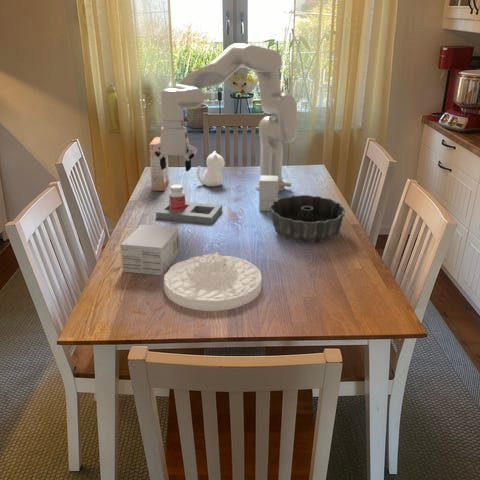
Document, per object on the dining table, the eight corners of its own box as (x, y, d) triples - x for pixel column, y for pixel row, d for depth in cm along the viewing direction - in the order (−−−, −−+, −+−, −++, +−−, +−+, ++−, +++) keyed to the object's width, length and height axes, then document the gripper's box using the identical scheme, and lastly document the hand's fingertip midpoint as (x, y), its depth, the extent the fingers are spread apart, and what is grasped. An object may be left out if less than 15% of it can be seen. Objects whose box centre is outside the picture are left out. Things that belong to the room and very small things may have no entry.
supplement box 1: (163, 276, 157) (161, 247, 154) (122, 272, 160) (119, 244, 156) (179, 252, 173) (178, 226, 169) (141, 249, 175) (139, 223, 171)
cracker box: (165, 191, 229) (162, 144, 221) (151, 191, 229) (148, 144, 221) (169, 181, 242) (167, 136, 234) (156, 181, 242) (154, 136, 234)
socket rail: (222, 211, 208) (222, 205, 207) (211, 223, 195) (211, 217, 194) (169, 206, 212) (169, 200, 211) (156, 218, 200) (155, 212, 199)
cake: (209, 257, 170) (209, 229, 166) (280, 283, 154) (281, 254, 150) (143, 289, 150) (141, 259, 147) (217, 324, 134) (216, 291, 130)
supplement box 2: (277, 205, 214) (278, 175, 209) (277, 211, 207) (278, 181, 202) (259, 204, 215) (260, 174, 210) (258, 211, 208) (259, 180, 203)
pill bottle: (188, 214, 204) (187, 187, 200) (174, 217, 201) (173, 189, 197) (181, 209, 209) (179, 182, 205) (167, 212, 206) (165, 185, 201)
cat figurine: (225, 187, 235) (225, 154, 229) (197, 188, 233) (196, 155, 227) (223, 181, 243) (223, 149, 237) (196, 182, 242) (195, 150, 236)
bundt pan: (347, 250, 175) (350, 222, 171) (268, 248, 176) (269, 220, 172) (339, 221, 199) (341, 196, 195) (269, 219, 200) (270, 194, 196)
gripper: (199, 123, 192) (200, 168, 199) (154, 120, 196) (158, 165, 203) (192, 127, 186) (194, 174, 193) (146, 125, 190) (150, 171, 197)
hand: (175, 169), depth 198 cm, fingers open, 9 cm apart
